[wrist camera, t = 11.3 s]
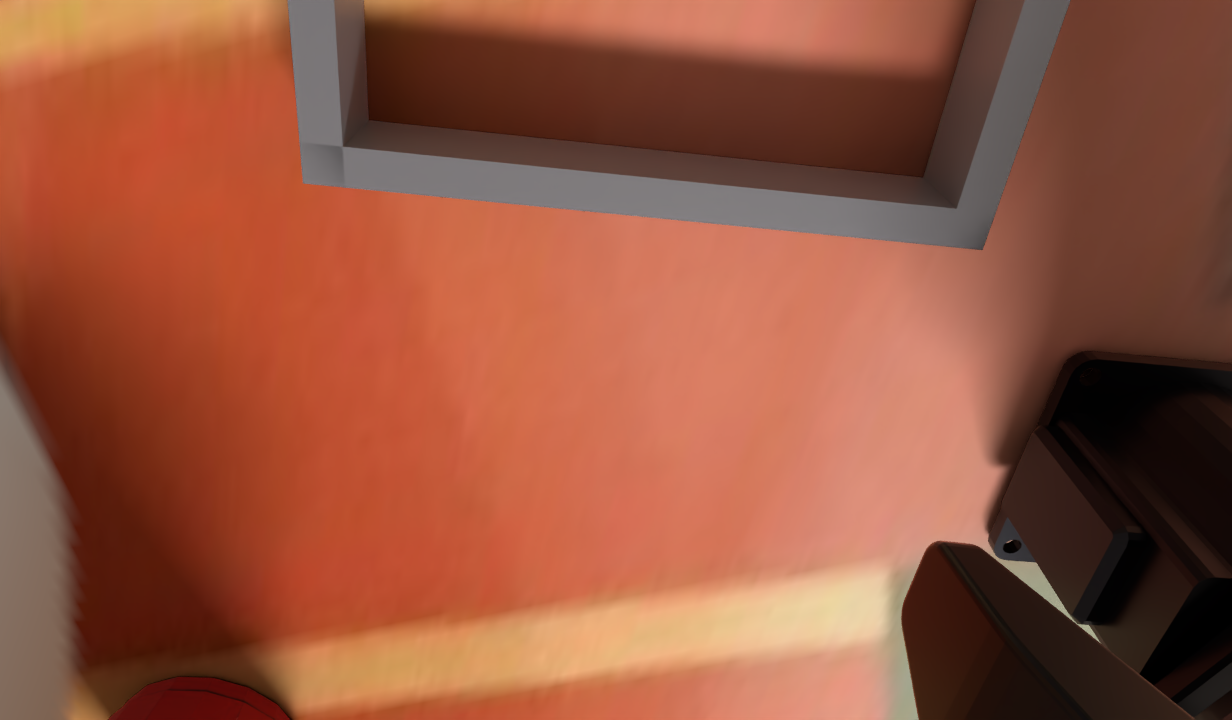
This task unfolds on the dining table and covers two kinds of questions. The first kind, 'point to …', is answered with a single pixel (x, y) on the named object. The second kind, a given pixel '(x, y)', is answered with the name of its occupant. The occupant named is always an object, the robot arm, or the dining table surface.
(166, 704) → the plastic cup
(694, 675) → the dining table surface
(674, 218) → the open gray frame
